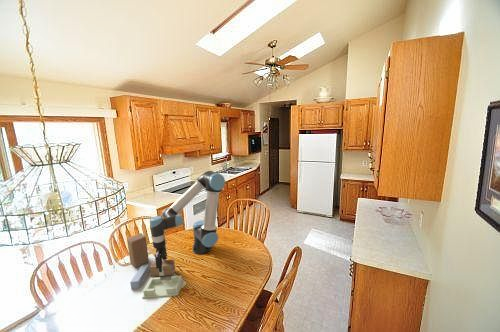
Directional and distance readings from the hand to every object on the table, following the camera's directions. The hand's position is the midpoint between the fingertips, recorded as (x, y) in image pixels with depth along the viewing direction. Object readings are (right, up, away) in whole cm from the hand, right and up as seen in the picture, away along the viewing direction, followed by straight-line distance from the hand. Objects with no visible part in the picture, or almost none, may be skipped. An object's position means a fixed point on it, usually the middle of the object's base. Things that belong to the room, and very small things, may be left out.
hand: (163, 271), depth 139 cm
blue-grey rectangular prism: (-13, -3, -4) cm, 14 cm away
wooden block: (-24, 0, +14) cm, 28 cm away
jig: (+5, -4, -12) cm, 14 cm away
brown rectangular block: (0, -1, 0) cm, 1 cm away
